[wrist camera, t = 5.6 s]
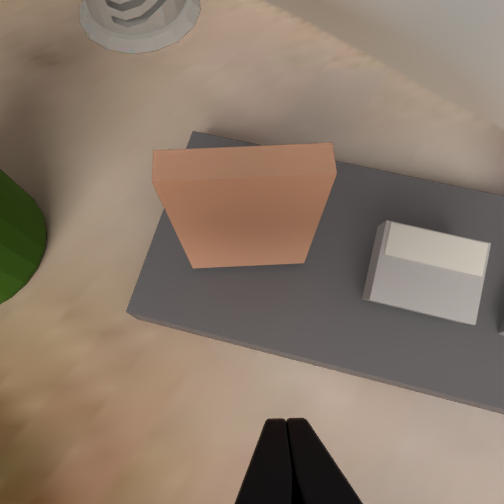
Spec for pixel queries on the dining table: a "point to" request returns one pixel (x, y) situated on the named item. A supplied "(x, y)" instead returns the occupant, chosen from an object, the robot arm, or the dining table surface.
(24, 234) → the wine bottle
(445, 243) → the rocker switch
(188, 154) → the tan rectangular board
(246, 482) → the robot arm
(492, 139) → the dining table surface
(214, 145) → the control console
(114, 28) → the french press
